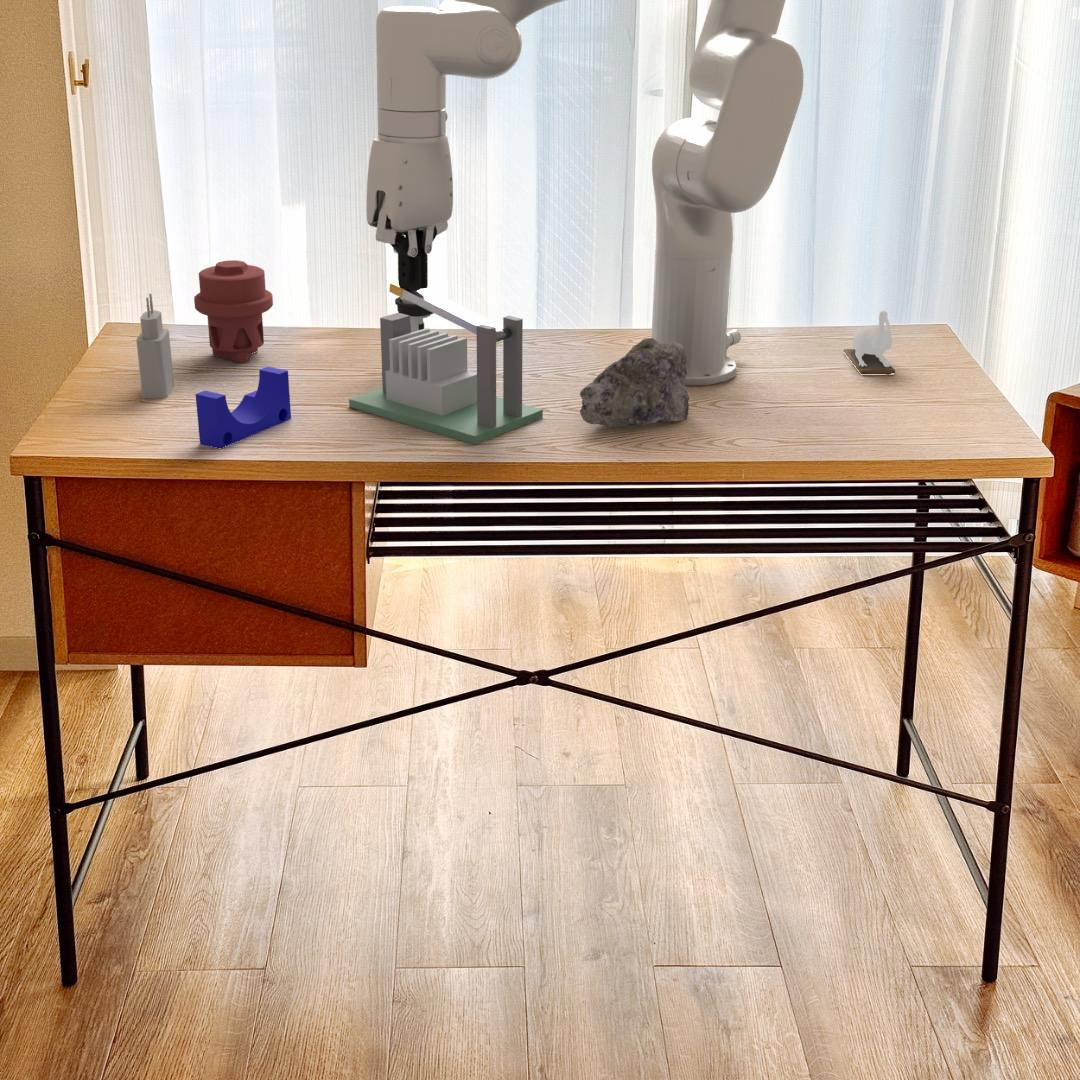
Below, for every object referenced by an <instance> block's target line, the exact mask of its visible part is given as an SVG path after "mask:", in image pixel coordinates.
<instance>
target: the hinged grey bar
mask: <svg viewBox="0 0 1080 1080" xmlns="http://www.w3.org/2000/svg"><path fill="white" fill-rule="evenodd" d="M388 291H389V292H390V293H392V294H393V295H395V296H398V297H401V298H402V297H403V298H405V299H407V300H409V301H411V302H413V303H415V304H417V305H419V306H421V307H423V308H425V309H427V310H429V311H431V312H433V314H435V315H437V316H438V317H441V318H443V319H445V320H447V321H449V322H451V323H453V324H455V325H457V326H459V327H461V328H463V329H465V330H467V331H469V332H471V333H473V334H474V335H477V328H476V326H478V325H481V324H484V325H489V326H493V327H496V343H498V342H502V341H503V340H504V339H507V338H510V337H511V336H512V331H511V330H510V328H508V327H507V328H505V327H503V325H501V324H500V323H497V322H495V321H493V320H491V319H488V318H486V317H484V316H483V315H480V314H478V313H476V312H474V311H473V310H470V309H467V308H466V307H464V306H463V305H460V304H458V303H456V302H454V301H452V300H449V299H448V298H445V297H444V296H441V295H439V294H437V293H435V292H433V291H432V290H429V289H427V288H426V289H421V290H418V291H414V290H410V289H406V288H402V287H400V286H399V285H398V280H395V281H393V282H390V283H389V290H388Z"/></svg>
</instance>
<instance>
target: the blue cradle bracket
mask: <svg viewBox="0 0 1080 1080" xmlns="http://www.w3.org/2000/svg"><path fill="white" fill-rule="evenodd" d="M258 372H259V378H258V385H257V389H256V390H254V391H251V392H249V393H246V394H244V396H243V398H242V400H241V401H240V403H239V404H238V406H236V408H234V409H233V410H232V411H230V407H229V406H228V402H227V397H226V394H223V393H219V392H213V391H209V390H202V391H200V392H197V393H195V394H194V395H195V404H196V414H197V425H198V426H197V427H198V433H199V434H198V435H199V436H198V438H199V444H200V445H202V444H203V445H202V446H206V445H207V447H210V446H212V447H211V448H214V447H217V448H216V449H218V448H222V449H224V448H226V447H225V446H227V447H228V445H229V446H231V445H233V444H232V443H234V444H236V443H238V442H240V440H241V441H243V440H245V439H247V437H248V438H250V437H252V436H254V434H255V435H256V433H257V434H259V433H261V431H262V432H264V431H266V430H268V429H271V428H273V427H275V426H278V425H280V424H282V423H285V422H287V421H289V420H292V415H291V414H292V412H291V410H292V409H291V396H290V382H289V381H290V379H289V370H286V369H282V368H277V367H272V366H266V367H263V368H260V369H259V370H258ZM251 435H252V436H251ZM249 436H250V437H249ZM242 439H243V440H242ZM237 441H238V442H237ZM235 442H236V443H235ZM230 444H231V445H230ZM223 447H224V448H223Z"/></svg>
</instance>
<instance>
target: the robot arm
mask: <svg viewBox="0 0 1080 1080" xmlns="http://www.w3.org/2000/svg"><path fill="white" fill-rule="evenodd" d="M566 1H568V0H443V1H442V2H441V3H440V5H439V6H438V7H437V8H435V7H430V6H418V5H417V6H416V5H395V6H394V5H393V6H388V7H387V6H386V7H385V8H382V9H381V10H380V11H379V13H378V15H377V17H376V23H375V24H376V26H375V32H376V33H375V34H376V35H375V36H376V37H375V38H376V40H375V41H376V92H377V93H376V94H377V95H376V98H377V101H376V102H377V137H376V138H373V140H372V144H371V148H370V153H369V160H368V169H367V181H366V183H367V184H366V209H365V210H366V211H365V212H366V221H367V224H368V226H370V227H373V228H376V232H375V240H376V242H378V243H383V244H384V243H385V244H389V245H390V246H391V247H392V250H393V253H395V254H397V281H398V285H399V286H400V287H402V288H406V289H410V290H414V291H418V290H421V289H427V288H428V287H429V286H428V284H429V283H428V282H429V281H428V280H429V279H428V277H429V276H428V275H429V274H428V272H429V271H428V265H429V264H428V262H429V261H428V255H429V254H430V253H431V252H432V249H433V242H434V241H435V239H436V237H437V236H438V235H441V234H442V233H443V232H445V231H447V230H448V227H449V224H448V221H449V220H450V218H452V214H453V207H454V183H453V182H454V181H453V179H454V178H453V167H452V157H451V150H450V144H449V138H448V135H446V133H447V132H446V129H447V128H446V127H447V126H446V122H447V120H448V113H447V109H446V106H447V105H446V103H447V102H446V101H447V99H446V93H447V92H446V89H447V88H446V84H447V83H446V81H447V79H446V78H447V76H457V77H464V78H471V79H472V78H473V79H477V80H478V79H481V80H489V79H490V80H491V79H494V78H499V77H501V76H503V75H505V74H506V73H508V72H509V71H510V70H511V69H512V68H513V67H515V65H516V63H517V62H518V61H519V59H520V56H521V53H522V47H523V46H522V45H523V43H522V35H521V33H520V30H519V28H518V26H517V24H519V23H520V22H522V21H524V20H525V19H527V18H528V17H530V16H531V15H533V14H535V13H537V12H538V11H540V10H543V9H545V8H547V7H550V6H552V5H555V4H559V3H562V2H566ZM785 4H786V0H710V5H709V7H708V10H707V13H706V16H705V19H704V23H703V26H702V29H701V33H700V35H699V38H698V41H697V43H696V44H697V45H696V47H695V51H694V54H693V56H692V61H691V63H690V69H689V78H688V80H689V81H688V82H689V87H690V89H691V93H692V94H693V95H694V97H695V98H696V99H697V100H698V101H699V102H701V103H702V104H704V105H706V106H708V107H709V108H712V109H715V110H717V111H718V110H719V113H718V117H717V120H716V121H715V120H711V119H708V118H704V117H686V118H682V119H679V120H676V121H675V122H672V123H671V124H670V125H669V126H667V127H666V128H665V129H664V130H663V132H661V134H660V136H659V137H658V138H657V140H656V142H655V144H654V149H653V151H652V152H653V153H652V160H651V171H652V172H651V175H652V182H653V185H652V186H653V192H654V202H655V226H656V227H655V251H654V252H655V253H654V268H653V269H654V270H653V293H652V294H653V295H652V317H651V318H652V319H651V338H653V339H654V340H655V341H657V342H658V343H660V344H665V343H671V342H676V343H679V344H681V345H682V346H683V347H684V349H685V351H686V355H687V361H686V370H687V375H686V377H685V386H706V385H714V384H715V385H716V384H719V383H723V382H726V381H729V380H731V379H733V378H734V377H735V376H736V373H737V363H736V362H735V360H733V359H732V358H730V357H729V356H727V354H728V353H727V350H728V349H729V348H730V347H732V346H734V345H737V344H738V343H740V342H741V340H742V339H741V338H742V337H741V333H740V331H739V330H737V329H731V330H730V329H729V330H728V328H727V327H728V313H729V312H728V311H729V297H730V283H731V280H730V279H731V268H732V267H731V265H732V253H733V243H734V242H733V240H734V239H733V238H734V237H733V236H734V235H733V230H734V229H733V217H732V214H736V213H742V212H745V211H748V210H750V209H751V208H753V207H754V206H756V205H757V204H758V203H759V202H760V201H761V200H763V197H765V195H766V194H767V193H768V191H769V189H770V187H771V185H772V183H773V181H774V179H775V176H776V174H777V171H778V168H779V166H780V162H781V159H782V156H783V154H784V152H785V148H786V145H787V142H788V138H789V136H790V134H791V131H792V127H793V125H794V121H795V120H796V119H795V118H796V116H797V114H798V113H797V112H798V110H799V109H798V108H799V106H800V102H801V100H802V95H803V90H804V77H805V76H804V67H803V63H802V59H801V56H800V55H799V53H798V51H797V50H796V48H795V47H794V46H793V45H792V44H791V42H789V41H788V40H787V39H785V38H783V37H781V36H779V35H777V33H778V29H779V26H780V21H781V19H782V15H783V10H784V7H785Z"/></svg>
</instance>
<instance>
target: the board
mask: <svg viewBox="0 0 1080 1080" xmlns="http://www.w3.org/2000/svg"><path fill="white" fill-rule="evenodd" d="M523 322H524V321H523V318H520V317H516V316H511V315H507V316H504V317H502V326H503V327H505V328H507V327H508V328H510V330H511V331H512V336H511V337H510V338H507V339H504V340H502V348H503V352H502V353H503V355H502V357H503V358H502V359H503V363H502V364H503V366H502V369H503V370H502V371H503V377H502V378H503V380H502V383H503V384H502V389H503V392H502V394H503V395H502V396H503V398H502V397H498V396H497V342H496V327H493V326H489V325H484V324H481V325H478V326H476V328H477V334H476V372H473V371H470V370H468V338H467V337H461V338H458V335H456V334H453V335H450V336H449V332H448V333H447V332H443V333H440V331H439V330H433V331H430V328H427V327H426V328H425V327H424V329H422V330H419V331H415V332H412V333H410V316H409V315H405V314H401V313H398V312H395V313H392V314H388V315H385V316H382V317H380V318H379V324H380V327H379V328H380V329H379V330H380V351H381V352H380V354H381V355H380V356H381V380H382V381H381V382H382V383H381V384H382V385H381V386H382V387H380V388H377V389H374V390H371V391H369V392H365V393H362V394H360V395H356V396H353V397H350V398H349V399H348V405H349V408H351V409H356V410H358V411H362V412H366V413H369V414H372V415H375V416H379V417H381V418H385V419H388V420H392V421H395V422H398V423H402V424H405V425H408V426H411V427H415V428H417V429H418V428H419V429H422V430H425V431H428V432H432V433H435V434H439V435H442V436H445V437H449V438H452V439H455V440H458V441H462V442H465V443H468V444H471V445H478V444H480V443H483V442H485V441H488V440H491V439H493V438H495V437H498V436H500V435H503V434H505V433H508V432H510V431H513V430H516V429H518V428H520V427H521V428H522V426H525V425H528V424H530V423H532V422H535V421H538V420H540V419H543V416H544V414H543V413H544V410H543V409H542V408H538V407H534V406H530V405H528V404H524V403H523V332H524V331H523V330H524V329H523Z"/></svg>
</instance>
